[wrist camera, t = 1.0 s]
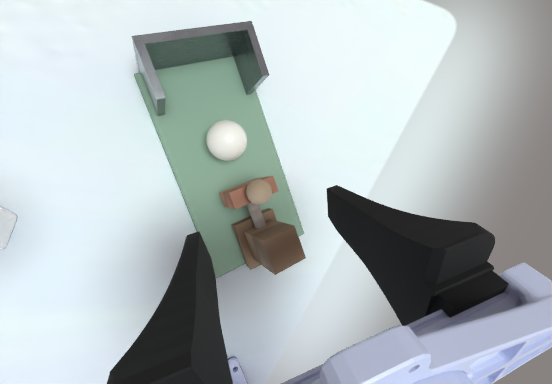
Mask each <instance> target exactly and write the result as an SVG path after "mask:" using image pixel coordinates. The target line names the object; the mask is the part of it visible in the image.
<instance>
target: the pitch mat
mask: <svg viewBox="0 0 552 384" xmlns="http://www.w3.org/2000/svg"><path fill="white" fill-rule="evenodd" d="M155 72H156V74H157V77H158V79H159V82H160V84H161V87H162V90H163V92H164V95H165V97H166V99H165V115H161V116H157V113H156V111H155V108H154V106H153V103H152V101H151V98H150V96H149V93H148V91H147V88H146V86H145V83H144V81H143V78H142V76H141V73H136V74H134V76H135V79H136V81H137V83H138V86H139V88H140V91H141V93H142V96H143V98H144V101H145V103H146V106H147V108H148V111H149V113H150V116H151V118H152V121H153V123H154V126H155V128H156V131H157V133H158V136H159V138H160V141H161V143H162V145H163V148H164V150H165V153H166V155H167V158H168V160H169V163H170V165H171V168H172V170H173V173H174V175H175V178H176V180H177V183H178V185H179V188H180V190H181V193H182V195H183V198H184V200H185V203H186V205H187V207H188V210H189V212H190V215H191V217H192V220H193V222H194V225H195V227H196V230H197V232H200V234H201V236H202V238H203V241H204V243H205V245H206V247H207V250H208V252H209V254H210V256H211V259H212V263H213V268H214V272H215V277H216V278H218V277H220V276H222V275H224V274H226V273H228V272H230V271H232V270H234V269H236V268H237V267H239V266H241V265H243V264H245V263H246V262H245V259H244V257H243V254H242V252H241V249H240V246H239V244H238V241H237V238H236V236H235V233H234V231H233V228H232V225H231V224H233V223H235V222H237V221H240V220H242V219H244V218H247V217H249V216H251V215H250V212H249V209H248V207H247V205H245V206H242V207H240V208H237V209H232V208H228V207H224V204H223V202H222V199H221V196H220V194H219V192H221V191H224V190H227V189H229V188H232V187H235V186H237V185H240V184H243V183H245V182H248V181H250V180H253V179H256V178H260V177H268V176H274V179H275V182H276V185H277V188H278V192H276V193H274V194H272V195H271V198H270V200H269V201H268V202H267V203H265V204H262V205H259V206H260V209H261V211H263V210H265V209H267V208H270V209H273V211H274V214H275V217H276V220H277V221H279V222H283V223H287V224H290V225H294V226H295V228H296V231H297V234H298V237H299V236H301V235H303V234H304V232H303V229H302V226H301V223H300V220H299V217H298V214H297V211H296V208H295V205H294V202H293V199H292V196H291V193H290V190H289V187H288V184H287V181H286V178H285V175H284V172H283V169H282V166H281V164H280V161H279V158H278V155H277V152H276V149H275V146H274V143H273V140H272V137H271V134H270V131H269V128H268V125H267V122H266V119H265V116H264V113H263V110H262V107H261V104H260V101H259V99H258V96H257V93H256V90H255V91H254V92H253V93H252V94H248V95H246V92H245V89H244V86H243V83H242V81H241V78H240V75H239V72H238V69H237V66H236V63H235V60H234V57H233V56H232V57H227V58H221V59H215V60H210V61H204V62H199V63H193V64H187V65H182V66H176V67H170V68H165V69H159V70H155ZM222 120H230V121H234V122H236V123H237V124H239V125H240V126H241V127H242V128H243V129H244V131H245V133H246V136H247V146H246V149H245V151H244V153H243V154H242V155H241V156H240V157H238V158H237V159H235V160H231V161H224V160H220V159H218V158H216V157H215V156H214V155H213V154H212V153H211V152H210V151H209V149H208V146H207V142H206V138H207V133H208V131H209V129H210V128H211V126H212V125H213V124H215V123H216V122H218V121H222Z"/></svg>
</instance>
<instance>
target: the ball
mask: <svg viewBox="0 0 552 384" xmlns="http://www.w3.org/2000/svg"><path fill="white" fill-rule="evenodd" d="M206 142H207V146H208V149H209V151H210V152H211V153H212V154H213V155H214V156H215V157H216V158H218V159H220V160H224V161H231V160H235V159H237V158H238V157H240V156H241V155H242V154H243V153H244V151H245V149H246V146H247V136H246V133H245V131H244V129H243V128H242V127H241V126H240V125H239V124H237V123H236V122H234V121H230V120H222V121H218V122H216V123H215V124H213V125H212V126H211V128H210V129H209V131H208V133H207V138H206Z"/></svg>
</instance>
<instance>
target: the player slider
mask: <svg viewBox="0 0 552 384" xmlns="http://www.w3.org/2000/svg"><path fill="white" fill-rule="evenodd" d="M276 192H278V188H277V185H276V182H275V179H274V176H268V177H260V178H256V179H253V180H250V181H248V182H245V183H243V184H240V185H237V186H235V187H232V188H229V189H227V190H224V191H221V192H219V194H220V196H221V199H222V202H223V204H224V207H228V208H232V209H237V208H240V207H242V206H245V205H247V207H248V209H249V212H250V215H251V216H249V217H247V218H244V219H242V220H240V221H237V222H235V223H233V224H231V225H232V228H233V231H234V233H235V236H236V238H237V241H238V244H239V246H240V249H241V252H242V254H243V257H244V259H245V262H246V265H247V267H249V268H250V269H253V268H255V267H257V266H259V265H263V266H264V267H265V268H267V269H268V270H269V271H271V272H272V273H273V274H275V275H276V274H277V273H279V272H281V271H283V270H285V269H287V268H288V267H290V266H292V265H294V264H296V263H297V262H299V261H301V260H303V259H305V255H304V252H303V249H302V246H301V243H300V240H299V237H298V234H297V231H296V228H295V226H294V225H290V224H287V223H283V222H279V221H277V220H276V217H275V214H274V211H273V209H270V208H267V209H265V210H263V211H261V209H260V206H259V205H262V204H265V203H267V202H268V201H269V200H270V198H271V195H272V194H274V193H276Z"/></svg>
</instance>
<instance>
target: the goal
mask: <svg viewBox="0 0 552 384" xmlns="http://www.w3.org/2000/svg"><path fill="white" fill-rule="evenodd" d="M132 40H133V45H134V50H135V55H136V60H137V65H138V69H139V72H140V73H141V76H142V78H143V81H144V83H145V86H146V88H147V91H148V93H149V96H150V98H151V101H152V103H153V106H154V108H155V111H156V113H157V116H161V115H165V99H166V97H165V95H164V92H163V90H162V87H161V84H160V82H159V79H158V77H157V74H156V72H155V70H159V69H165V68H170V67H176V66H182V65H187V64H193V63H199V62H204V61H210V60H215V59H221V58H227V57H232V56H233V57H234V60H235V63H236V66H237V69H238V72H239V75H240V78H241V81H242V83H243V86H244V89H245V92H246V95H248V94H252V93H253V92H254V91H255V90H256V89H257V87H258V86H259V85H260V84H261V83H262V82H263V81H264V80H265V79H266V78H267V77H268V76H269V73H268V70H267V67H266V64H265V61H264V58H263V55H262V52H261V48H260V45H259V42H258V39H257V36H256V33H255V30H254V27H253V24H252V21H248V22H240V23H232V24H224V25H216V26H208V27H200V28H192V29H184V30H176V31H169V32H161V33H153V34H145V35H137V36H132Z"/></svg>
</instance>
